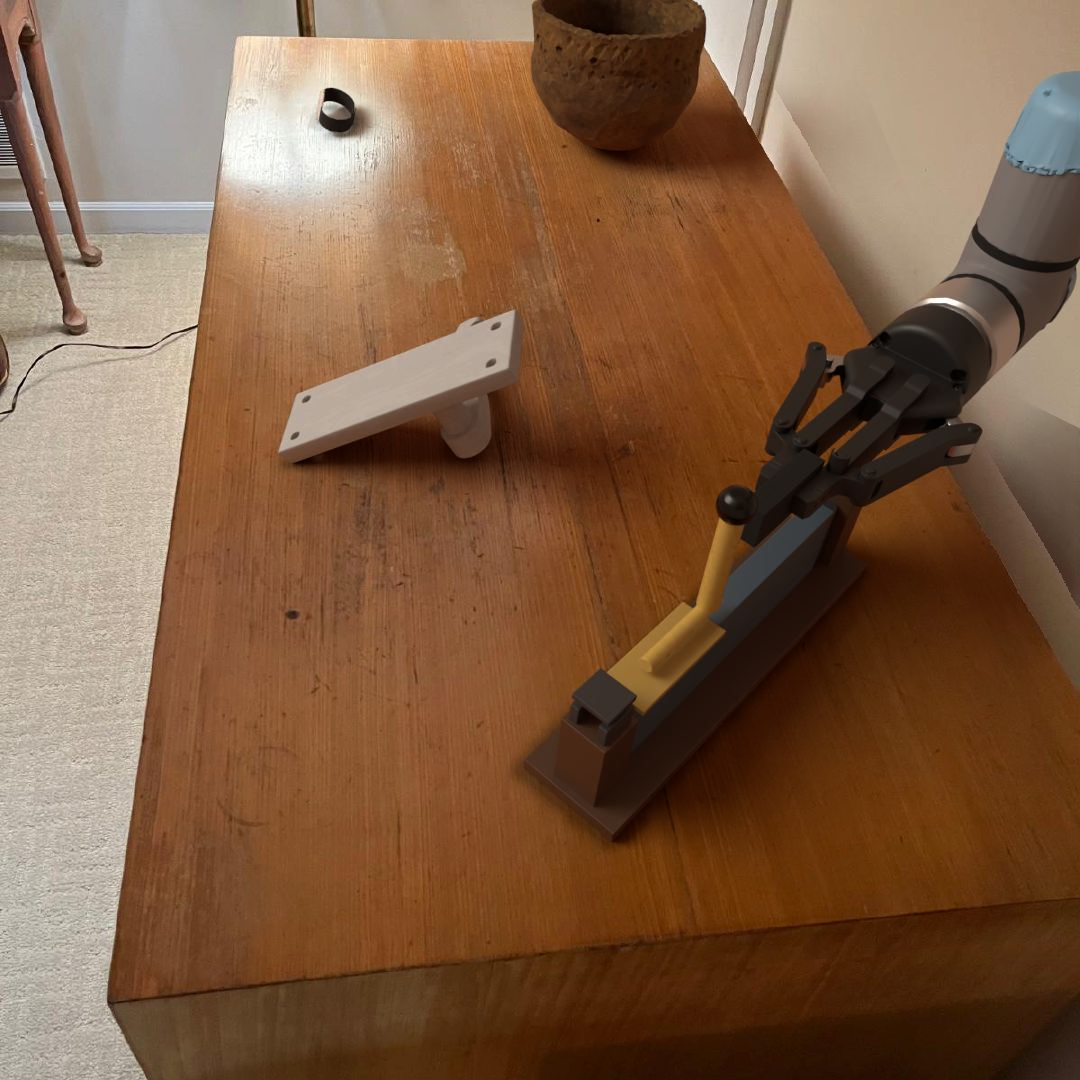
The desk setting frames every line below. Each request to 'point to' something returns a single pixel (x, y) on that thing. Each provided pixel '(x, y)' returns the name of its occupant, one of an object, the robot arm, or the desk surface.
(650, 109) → the bowl
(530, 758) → the sliding lever mechanism
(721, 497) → the bolt
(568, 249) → the desk surface
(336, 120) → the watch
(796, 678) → the desk surface
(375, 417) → the handle
